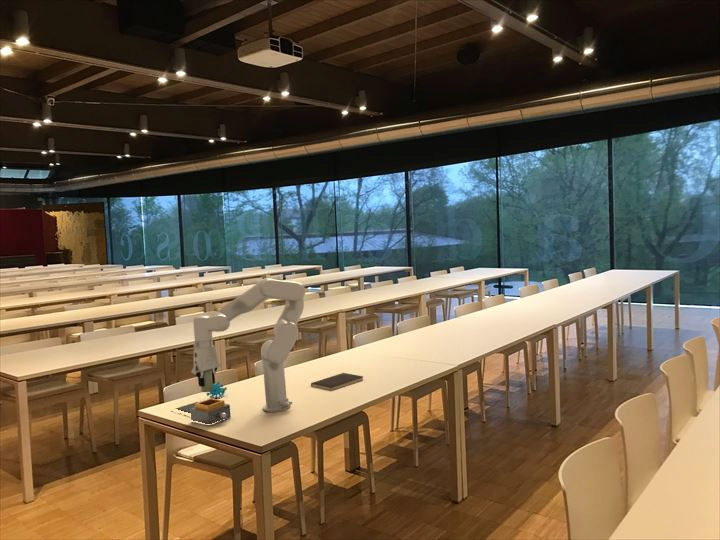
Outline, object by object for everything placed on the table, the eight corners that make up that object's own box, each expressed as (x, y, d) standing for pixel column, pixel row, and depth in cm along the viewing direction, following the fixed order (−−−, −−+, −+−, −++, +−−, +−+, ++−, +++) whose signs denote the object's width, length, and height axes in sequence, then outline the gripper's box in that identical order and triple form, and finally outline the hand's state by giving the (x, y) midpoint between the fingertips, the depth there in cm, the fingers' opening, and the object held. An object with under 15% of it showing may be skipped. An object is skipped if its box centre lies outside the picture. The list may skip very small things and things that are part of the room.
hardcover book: (363, 380, 304) (363, 376, 304) (331, 391, 288) (331, 387, 288) (343, 376, 315) (342, 372, 315) (310, 387, 299) (310, 382, 299)
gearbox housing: (236, 418, 254) (235, 401, 253) (215, 427, 244) (213, 409, 244) (213, 414, 263) (211, 396, 263) (191, 422, 254) (189, 404, 253)
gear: (206, 398, 284) (204, 380, 291) (204, 404, 288) (202, 387, 294) (228, 396, 289) (225, 379, 296) (226, 403, 293) (223, 386, 299)
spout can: (215, 389, 254) (213, 365, 254) (206, 392, 250) (204, 367, 249) (208, 388, 257) (206, 364, 256) (199, 391, 253) (197, 366, 252)
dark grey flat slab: (220, 406, 269) (191, 416, 259) (220, 410, 269) (191, 420, 259) (198, 400, 283) (169, 408, 272) (198, 403, 283) (169, 412, 273)
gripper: (193, 348, 243) (196, 390, 244) (224, 341, 257) (227, 381, 258) (182, 347, 248) (185, 388, 249) (213, 339, 261) (216, 379, 263)
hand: (206, 384), depth 253 cm, fingers closed on spout can, 5 cm apart
